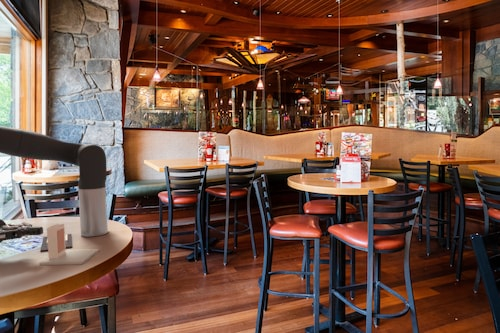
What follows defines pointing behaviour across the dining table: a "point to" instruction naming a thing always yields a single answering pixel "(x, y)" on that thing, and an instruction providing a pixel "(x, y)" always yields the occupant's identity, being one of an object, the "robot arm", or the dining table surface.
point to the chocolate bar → (67, 243)
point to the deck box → (56, 241)
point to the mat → (71, 257)
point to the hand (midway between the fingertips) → (41, 230)
